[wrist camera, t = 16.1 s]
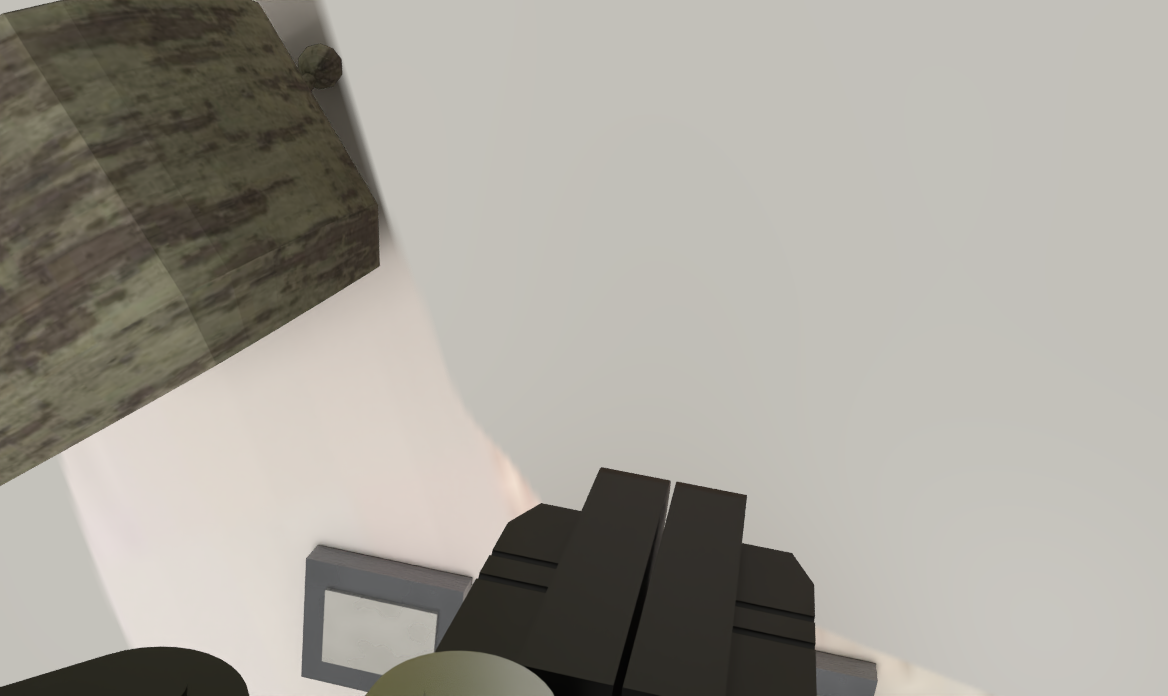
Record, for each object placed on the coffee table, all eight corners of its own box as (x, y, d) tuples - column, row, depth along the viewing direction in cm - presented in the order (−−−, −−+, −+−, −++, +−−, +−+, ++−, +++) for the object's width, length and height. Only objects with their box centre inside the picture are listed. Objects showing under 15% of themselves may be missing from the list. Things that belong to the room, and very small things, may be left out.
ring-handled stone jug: (345, -5, 39) (-333, -26, 16) (469, 212, 41) (22, 488, 17) (67, 180, 43) (-785, 379, 20) (189, 369, 45) (-470, 758, 22)
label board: (875, 663, 43) (878, 684, 42) (845, 783, 45) (847, 806, 44) (318, 545, 46) (304, 560, 45) (313, 660, 48) (299, 679, 47)
